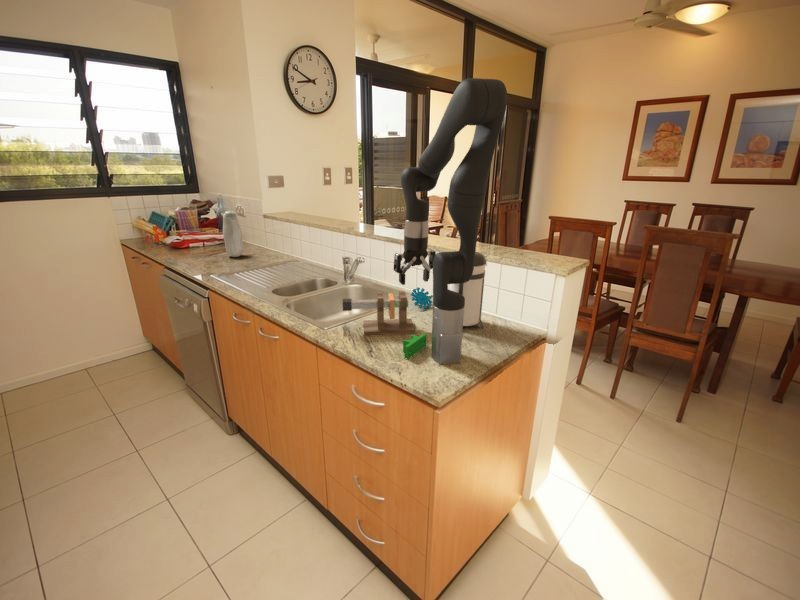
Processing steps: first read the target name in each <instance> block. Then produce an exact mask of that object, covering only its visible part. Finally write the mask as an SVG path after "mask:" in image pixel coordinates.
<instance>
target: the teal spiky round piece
mask: <svg viewBox="0 0 800 600" xmlns="http://www.w3.org/2000/svg"><path fill="white" fill-rule="evenodd" d="M424 291H425V289H424V288H423V287H422V288H420V287H418V286H417V287H416V288H414V289H412V292H411V293H410V296H411V301H414V303H413V304H414V306H418V308H419V309H422V308H423V309H424V310H427V309H428V308H431V307H432V304H433V300H432V299H433V294H431V295H429V291H425V292H424ZM418 304H419V305H418Z"/></svg>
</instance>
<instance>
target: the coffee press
mask: <svg viewBox="0 0 800 600" xmlns="http://www.w3.org/2000/svg"><path fill="white" fill-rule="evenodd" d="M487 266H488V263H487V259H486V256H485V255H484V254H483V253H482V252H479V251H475V261H474V269H473V274H472V277H471V279H470V280H469V281H468V282H466V283H458V284H448V290H451V291H454V292H457V293H460V294H461V295H463V296H464V298H465V306H464V318H463V327H472V326H474V325H476V327H478V328H479V329H483V328H484V323H483V321H482V312H483V298H484V297H483V296H484V286H485V276H486V270H485V268H486V267H487ZM479 323H480V324H479Z"/></svg>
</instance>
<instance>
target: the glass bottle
mask: <svg viewBox="0 0 800 600" xmlns="http://www.w3.org/2000/svg"><path fill="white" fill-rule="evenodd" d="M236 214H237V213H235V211H233V210H226V211H224V213H223V216H222V219H223V220H222V221H223V222H222V223H223V225H222V233H223V236H222V237H223V240H224V245H225V246H224V247H225V250H226V254H227V255H228V256H230V257H231V258H238V257H241V255H242V254H243V252H244V245H243V235H242V229H241V227H240V224H239V221H238V218H237V215H236Z"/></svg>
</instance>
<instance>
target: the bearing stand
mask: <svg viewBox="0 0 800 600" xmlns="http://www.w3.org/2000/svg"><path fill="white" fill-rule="evenodd" d="M376 299H377V301H378V308H376V320H375V319H374V320H371V319H370V320H362V321H363V336H364V337H378V336H397V335H398V336H400V335H402V336H403V335H416V328H415V326H414V325H415V324H414V323H413V320H412V319H413V318H408V317H407V316H408V315H407V314H408V313H407V312H408V310H407V309H408V307H407V299H408V296H407V295H406V292H405V290H398V299H400V307H398V318H396V319H385V318H384V315H385V312H384V311H385V310H384V309H385V308H384V299H385V298H384V293H383V291H376Z"/></svg>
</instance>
